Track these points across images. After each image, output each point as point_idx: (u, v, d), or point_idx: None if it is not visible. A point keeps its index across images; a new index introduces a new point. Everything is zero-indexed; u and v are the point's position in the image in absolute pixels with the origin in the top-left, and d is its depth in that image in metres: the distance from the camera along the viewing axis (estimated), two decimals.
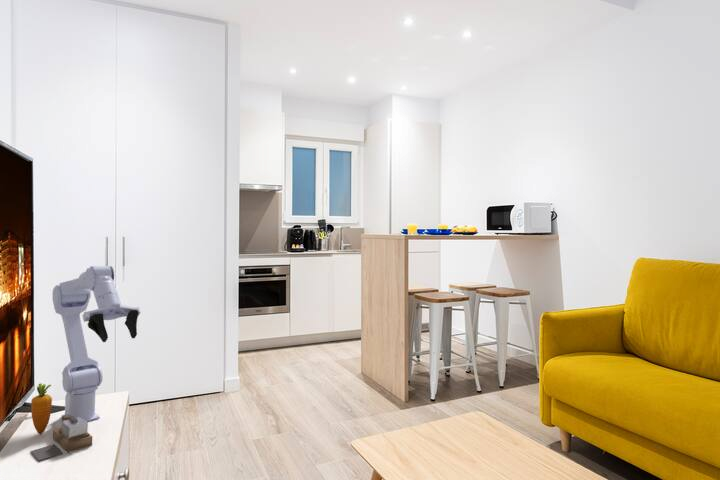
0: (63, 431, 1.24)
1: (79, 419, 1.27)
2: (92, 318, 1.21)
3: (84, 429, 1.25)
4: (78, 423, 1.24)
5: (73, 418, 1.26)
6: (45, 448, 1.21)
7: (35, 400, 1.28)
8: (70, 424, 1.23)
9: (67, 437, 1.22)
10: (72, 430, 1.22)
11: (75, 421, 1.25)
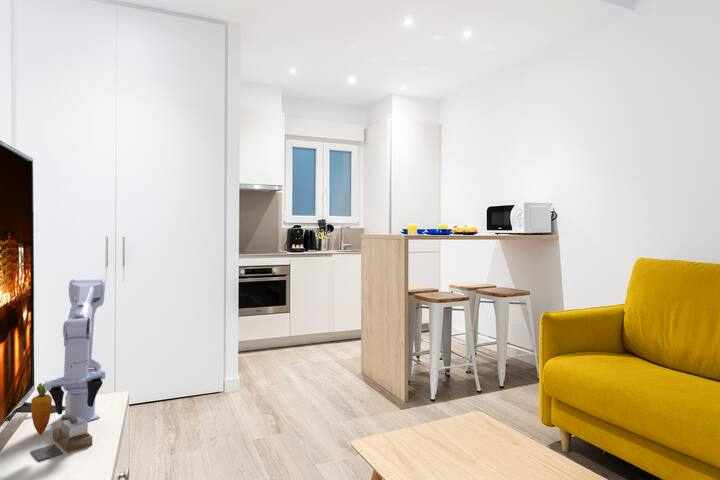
0: (63, 431, 1.24)
1: (79, 419, 1.27)
2: (52, 393, 1.20)
3: (84, 429, 1.25)
4: (78, 423, 1.24)
5: (73, 418, 1.26)
6: (45, 448, 1.21)
7: (35, 400, 1.28)
8: (70, 424, 1.23)
9: (67, 437, 1.22)
10: (72, 430, 1.22)
11: (75, 421, 1.25)
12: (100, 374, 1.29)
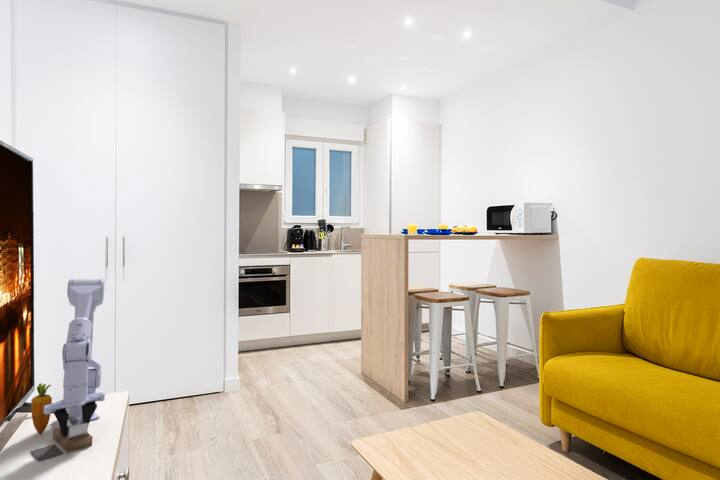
0: None
1: (79, 419, 1.27)
2: (57, 415, 1.21)
3: (84, 429, 1.25)
4: (78, 423, 1.24)
5: (73, 418, 1.26)
6: (45, 448, 1.21)
7: (35, 400, 1.28)
8: (70, 424, 1.23)
9: (67, 437, 1.22)
10: (72, 430, 1.22)
11: (75, 421, 1.25)
12: (99, 396, 1.29)
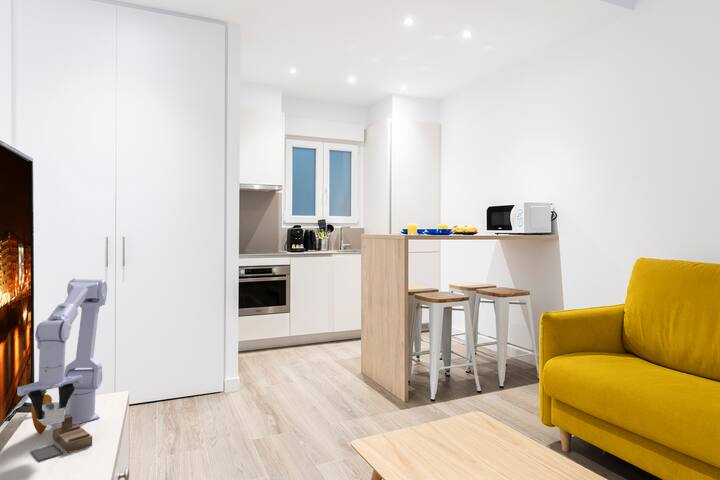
0: None
1: (56, 403, 1.22)
2: (31, 397, 1.15)
3: (61, 414, 1.19)
4: (54, 408, 1.19)
5: (49, 403, 1.20)
6: (45, 448, 1.21)
7: None
8: (46, 409, 1.18)
9: (42, 422, 1.17)
10: (48, 415, 1.17)
11: (51, 406, 1.19)
12: (77, 378, 1.23)
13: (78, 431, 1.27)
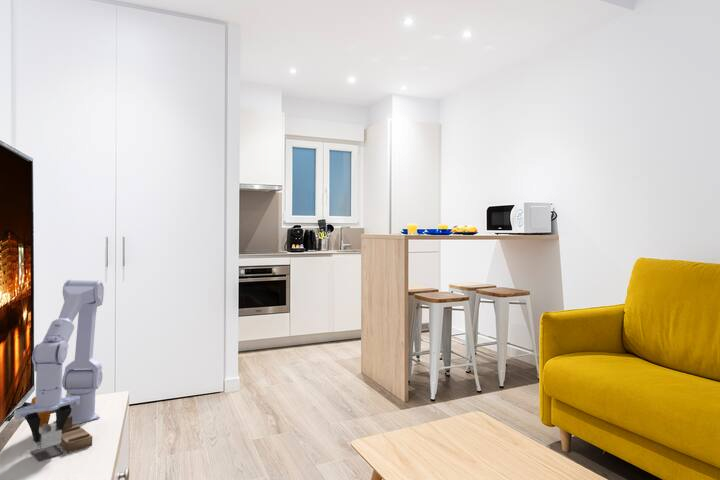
0: None
1: (53, 425, 1.21)
2: (28, 420, 1.15)
3: (58, 436, 1.18)
4: (51, 430, 1.18)
5: (46, 425, 1.20)
6: (45, 448, 1.21)
7: (35, 400, 1.28)
8: (42, 432, 1.17)
9: (39, 445, 1.16)
10: (45, 438, 1.16)
11: (48, 428, 1.19)
12: (74, 400, 1.23)
13: (78, 431, 1.27)
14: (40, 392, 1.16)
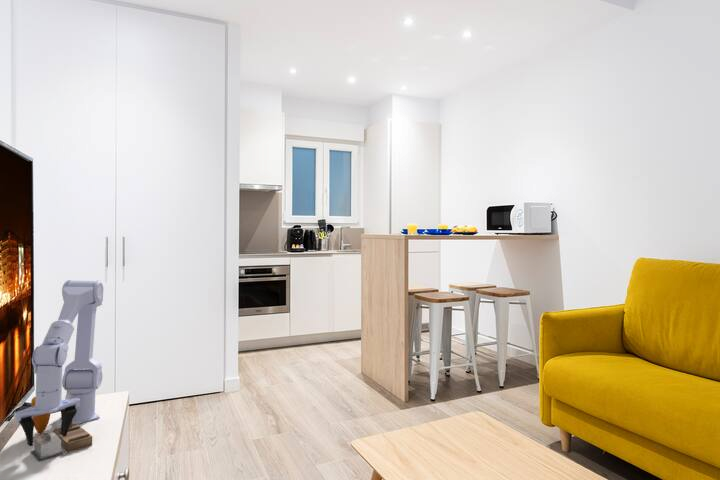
0: (35, 448, 1.18)
1: (53, 435, 1.21)
2: (22, 424, 1.14)
3: (57, 446, 1.18)
4: (51, 440, 1.18)
5: (46, 434, 1.20)
6: None
7: (35, 400, 1.28)
8: (42, 442, 1.17)
9: (39, 455, 1.16)
10: (44, 448, 1.16)
11: (48, 438, 1.19)
12: (74, 402, 1.23)
13: (78, 431, 1.27)
14: (40, 394, 1.16)
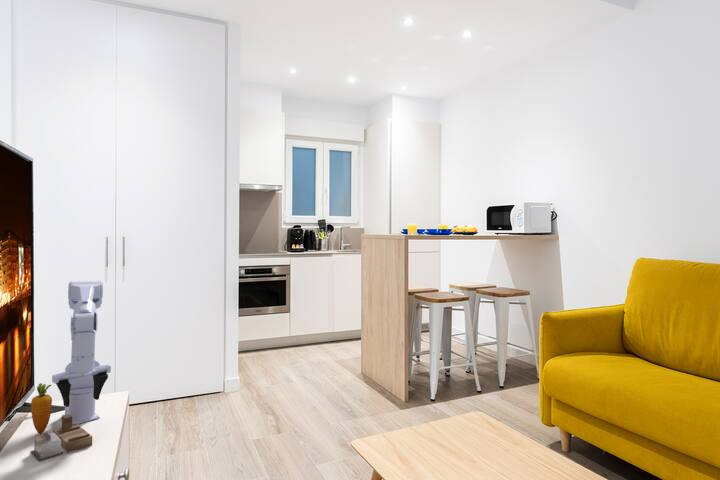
0: (35, 448, 1.18)
1: (53, 435, 1.21)
2: (60, 386, 1.23)
3: (57, 446, 1.18)
4: (51, 440, 1.18)
5: (46, 434, 1.20)
6: None
7: (35, 400, 1.28)
8: (42, 442, 1.17)
9: (39, 455, 1.16)
10: (44, 448, 1.16)
11: (48, 438, 1.19)
12: (106, 368, 1.32)
13: (78, 431, 1.27)
14: (76, 359, 1.26)
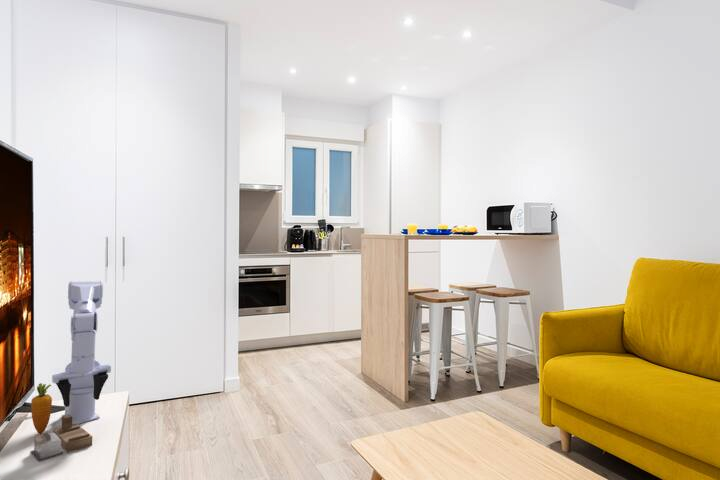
0: (35, 448, 1.18)
1: (53, 435, 1.21)
2: (60, 385, 1.23)
3: (57, 446, 1.18)
4: (51, 440, 1.18)
5: (46, 434, 1.20)
6: None
7: (35, 400, 1.28)
8: (42, 442, 1.17)
9: (39, 455, 1.16)
10: (44, 448, 1.16)
11: (48, 438, 1.19)
12: (106, 368, 1.32)
13: (78, 431, 1.27)
14: (76, 359, 1.26)
